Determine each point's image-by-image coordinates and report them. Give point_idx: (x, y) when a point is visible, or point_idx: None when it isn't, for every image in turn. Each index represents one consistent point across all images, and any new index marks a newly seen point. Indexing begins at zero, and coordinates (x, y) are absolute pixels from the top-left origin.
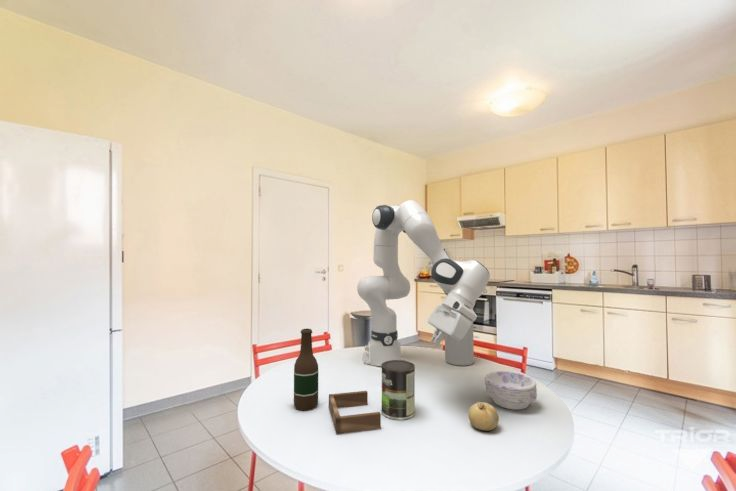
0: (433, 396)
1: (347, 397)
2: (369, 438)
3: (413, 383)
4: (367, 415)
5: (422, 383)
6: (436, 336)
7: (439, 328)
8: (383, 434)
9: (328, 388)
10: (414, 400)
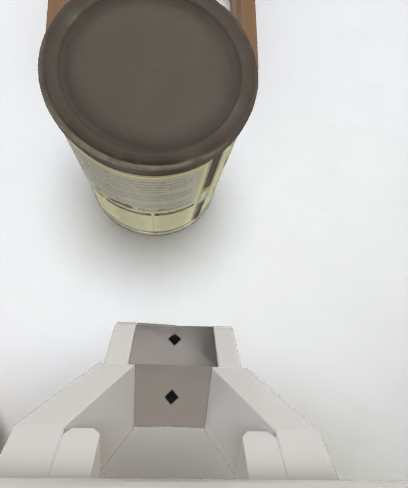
0: (256, 365)
1: (238, 8)
2: (13, 40)
3: (91, 174)
4: (47, 11)
5: (397, 374)
6: (223, 418)
7: (71, 485)
8: (21, 83)
9: (390, 12)
10: (119, 213)
